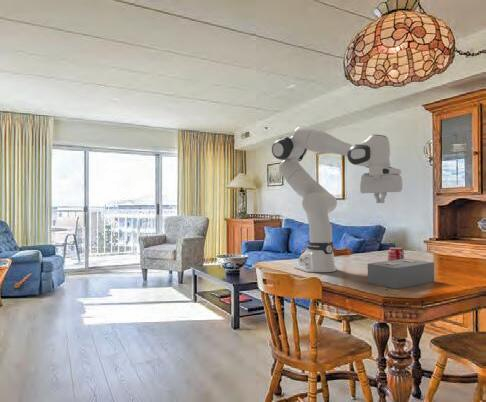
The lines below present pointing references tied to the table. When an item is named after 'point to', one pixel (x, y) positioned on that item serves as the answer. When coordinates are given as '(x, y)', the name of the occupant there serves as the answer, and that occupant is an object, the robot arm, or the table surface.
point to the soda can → (395, 253)
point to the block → (400, 273)
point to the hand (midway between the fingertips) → (380, 203)
